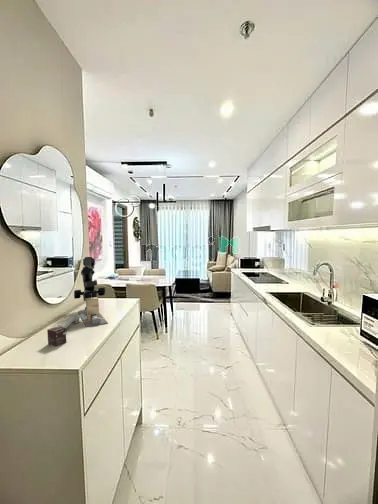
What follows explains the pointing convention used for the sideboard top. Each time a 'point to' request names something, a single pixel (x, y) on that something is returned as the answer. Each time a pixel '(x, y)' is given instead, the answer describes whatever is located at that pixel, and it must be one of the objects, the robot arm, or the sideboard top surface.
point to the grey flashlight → (70, 320)
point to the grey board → (93, 320)
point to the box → (56, 336)
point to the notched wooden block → (92, 307)
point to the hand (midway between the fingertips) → (91, 303)
